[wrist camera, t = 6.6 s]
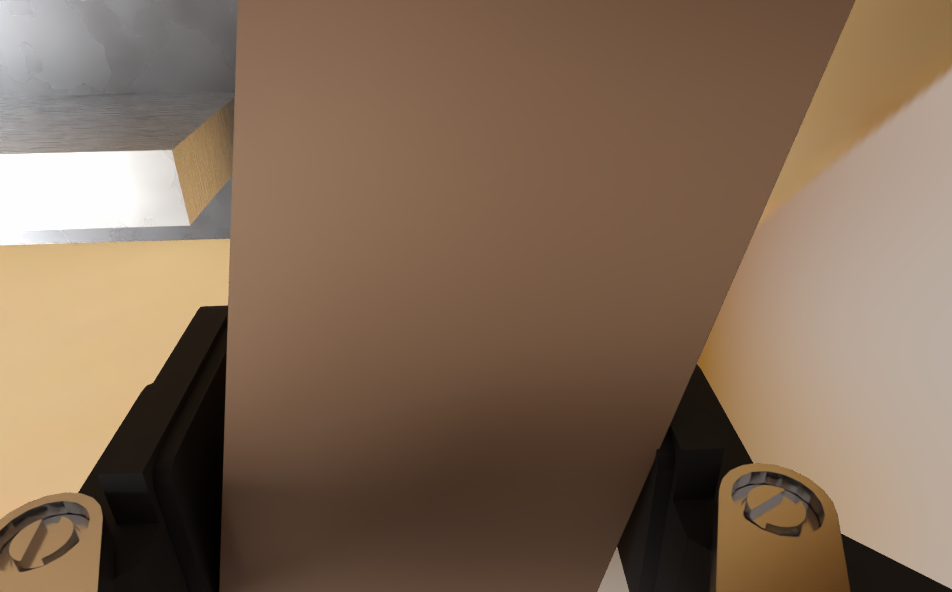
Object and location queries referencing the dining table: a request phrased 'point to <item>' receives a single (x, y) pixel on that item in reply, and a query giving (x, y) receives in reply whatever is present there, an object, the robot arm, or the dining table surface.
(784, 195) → the dining table surface
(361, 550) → the brown wooden block
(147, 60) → the ridge stand
